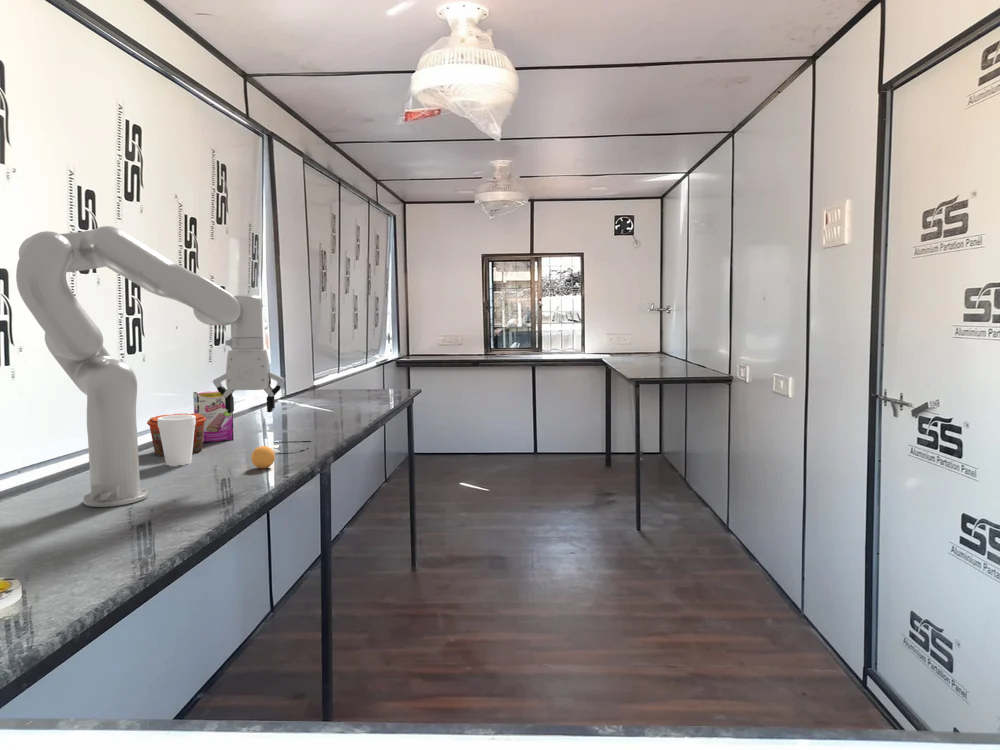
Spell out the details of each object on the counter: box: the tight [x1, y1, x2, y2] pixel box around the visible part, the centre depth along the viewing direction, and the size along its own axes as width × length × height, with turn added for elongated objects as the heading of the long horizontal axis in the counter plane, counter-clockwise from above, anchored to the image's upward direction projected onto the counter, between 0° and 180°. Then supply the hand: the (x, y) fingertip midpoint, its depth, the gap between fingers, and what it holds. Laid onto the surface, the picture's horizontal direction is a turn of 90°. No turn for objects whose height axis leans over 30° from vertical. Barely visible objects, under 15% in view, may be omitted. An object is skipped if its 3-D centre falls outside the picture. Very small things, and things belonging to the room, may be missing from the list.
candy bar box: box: [193, 389, 234, 444], centre depth 217 cm, size 11×5×16 cm, turn 130°
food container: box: [146, 413, 206, 457], centre depth 200 cm, size 16×16×11 cm
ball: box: [251, 445, 276, 470], centre depth 180 cm, size 6×6×6 cm
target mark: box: [269, 444, 280, 453], centre depth 205 cm, size 14×14×1 cm
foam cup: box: [157, 414, 196, 467], centre depth 185 cm, size 10×9×13 cm
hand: (250, 412), depth 170 cm, fingers open, 9 cm apart
